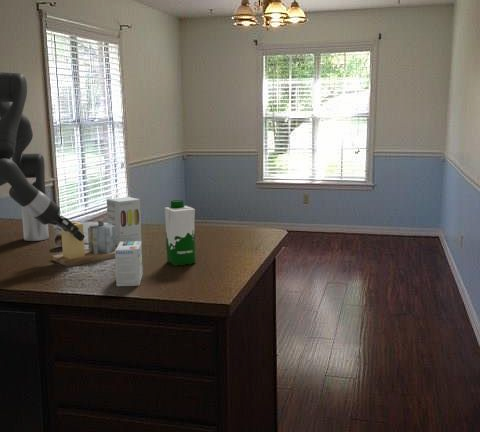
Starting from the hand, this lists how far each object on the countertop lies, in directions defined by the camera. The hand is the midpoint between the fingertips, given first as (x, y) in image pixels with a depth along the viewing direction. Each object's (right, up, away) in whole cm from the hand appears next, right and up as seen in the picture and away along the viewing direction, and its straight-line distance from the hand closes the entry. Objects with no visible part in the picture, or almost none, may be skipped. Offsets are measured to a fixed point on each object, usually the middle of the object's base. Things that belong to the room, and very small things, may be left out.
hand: (76, 236), depth 188 cm
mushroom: (-9, -5, +20) cm, 22 cm away
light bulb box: (+22, -12, -23) cm, 34 cm away
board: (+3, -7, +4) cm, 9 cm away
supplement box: (+11, -3, +26) cm, 28 cm away
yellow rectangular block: (-1, -6, 0) cm, 7 cm away
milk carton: (+35, -8, -3) cm, 36 cm away
